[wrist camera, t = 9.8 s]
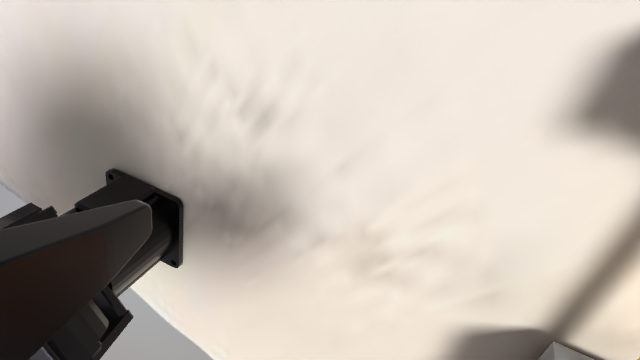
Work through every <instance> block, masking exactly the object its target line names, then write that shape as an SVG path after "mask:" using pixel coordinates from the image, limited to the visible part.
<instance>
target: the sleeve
mask: <svg viewBox="0 0 640 360" xmlns="http://www.w3.org/2000/svg"><path fill="white" fill-rule="evenodd" d="M538 360H594V359H592V358H590V357H588V356H585V355H583V354H581V353H579V352H576V351H574V350H572V349H570V348H567V347H565V346H563V345H561V344H558V343H556V342H554V341H553V342H552V343H551V344H550V346H549V347H548V348H547V349H546V350H545V352H544V353H543V354H542V355H541V356H540V357H539V359H538Z"/></svg>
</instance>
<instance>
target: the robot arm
mask: <svg viewBox="0 0 640 360" xmlns="http://www.w3.org/2000/svg"><path fill="white" fill-rule="evenodd" d="M106 182H107V186H105V187H103V188H101V189H100V190H98V191H96V192H94V193H92V194H91V195H89V196H87V197H85V198H84V199H82V200H80V201H78V202H77V203H76V204H75V208H73V209H72V210H70V211H68V212H66V213H65V214H63V215H61V216H59V217H58V216H57V215H56V213H57V212H56V210H55V209H54V208H53V206H50V207H48V208H46V209H44V210H42V209H41V207H40V208H39V207H37V206H36V205H34V204H32V203H29V204H27V205H25V206H23V207H21V208H20V209H17V210H15V211H13V212H12V213H10V214H8V215H6V216H4V217H2V218H0V360H100V358H101V357H102V356H103V355H104V353H105V352H106V351H107V350H108V348H109V347H110V346H111V345H112V343H113V342H114V341H115V340H116V338H117V337H118V336H119V335H120V333H121V332H122V331H123V330H124V328H125V327H126V326H127V325H128V323H129V322H130V321H131V319H132V318H133V315H132V314H131V312H130V311H129V310H126V308H125V307H124V306H123V304H122V303H121V301H120V300H119V299H118V296H120V294H122V293H123V292H124V291H125V290H126V289H128V288H129V287H130V286H131V285H132V284H133V283H135V282H136V281H137V280H138V279H139V278H140V277H142V276H143V275H144V274H145V273H146V272H147V271H149V270H150V269H151V268H152V267H153V266H154V265H156V264H157V263H158V262H159V261H162V262H164V263H166V264H168V265H170V266H172V267H174V268H178V267H179V266H180V265H181V264H182V262H183V203H182V202H181V200H180V199H178V198H176V197H174V196H172V195H170V194H168V193H166V192H163V191H161V190H159V189H157V188H155V187H153V186H150V185H148V184H146V183H144V182H142V181H140V180H137V179H135V178H133V177H131V176H129V175H127V174H124V173H122V172H120V171H118V170H116V169H110V170H108V171H107V172H106Z"/></svg>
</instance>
